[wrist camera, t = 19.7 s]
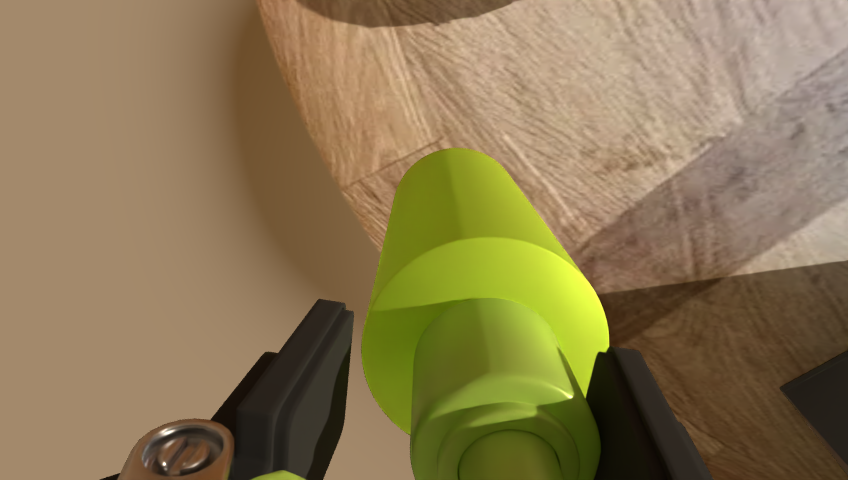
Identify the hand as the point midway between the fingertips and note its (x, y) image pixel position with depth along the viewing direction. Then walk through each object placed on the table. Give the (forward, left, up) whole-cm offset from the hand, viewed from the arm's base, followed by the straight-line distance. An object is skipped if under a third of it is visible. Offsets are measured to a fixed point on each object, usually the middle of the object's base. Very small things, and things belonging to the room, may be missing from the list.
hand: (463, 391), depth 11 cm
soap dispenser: (0, +2, -15) cm, 15 cm away
